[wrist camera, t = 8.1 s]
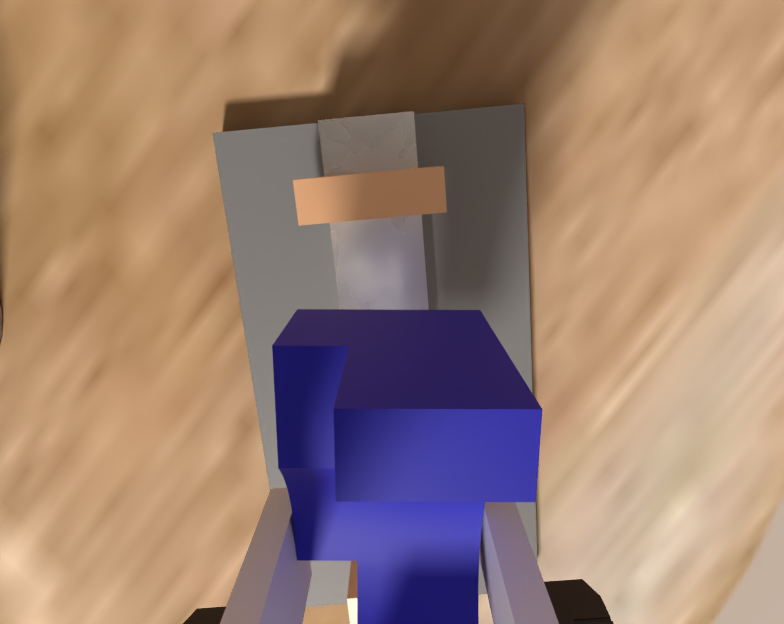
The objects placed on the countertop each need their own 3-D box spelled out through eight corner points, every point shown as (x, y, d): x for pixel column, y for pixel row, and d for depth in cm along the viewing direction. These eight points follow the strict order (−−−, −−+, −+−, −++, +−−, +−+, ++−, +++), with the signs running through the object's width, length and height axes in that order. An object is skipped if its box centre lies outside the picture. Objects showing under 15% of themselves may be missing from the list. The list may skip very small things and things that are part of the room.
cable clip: (297, 309, 14) (229, 408, 8) (480, 309, 14) (542, 409, 8) (312, 701, 17) (269, 980, 11) (463, 702, 17) (500, 982, 11)
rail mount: (221, 134, 23) (177, 126, 18) (517, 106, 23) (549, 91, 18) (293, 589, 29) (273, 674, 24) (532, 572, 28) (559, 654, 24)
